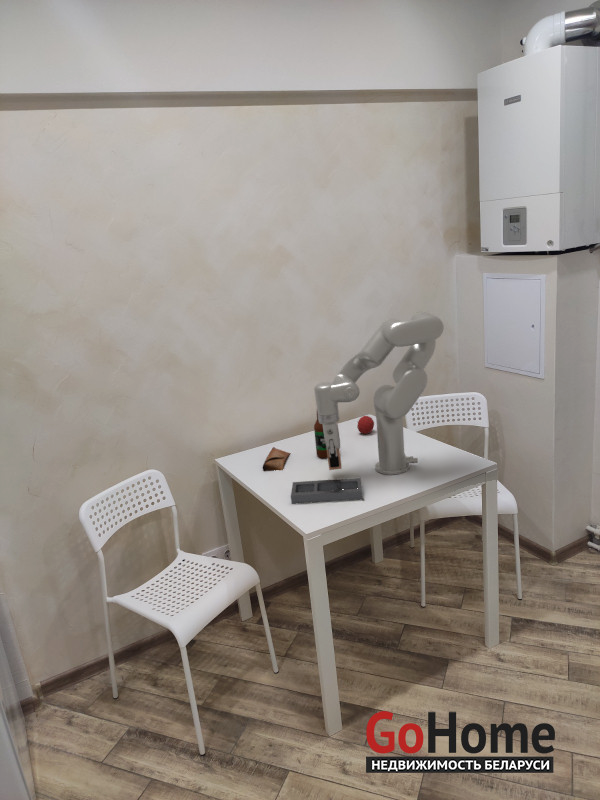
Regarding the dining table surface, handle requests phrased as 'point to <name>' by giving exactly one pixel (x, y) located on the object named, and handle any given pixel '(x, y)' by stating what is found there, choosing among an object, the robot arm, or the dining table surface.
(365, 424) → the red textured ball
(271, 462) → the sunglasses case
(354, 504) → the dining table surface
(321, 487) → the rack
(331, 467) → the peg
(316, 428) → the bottle
